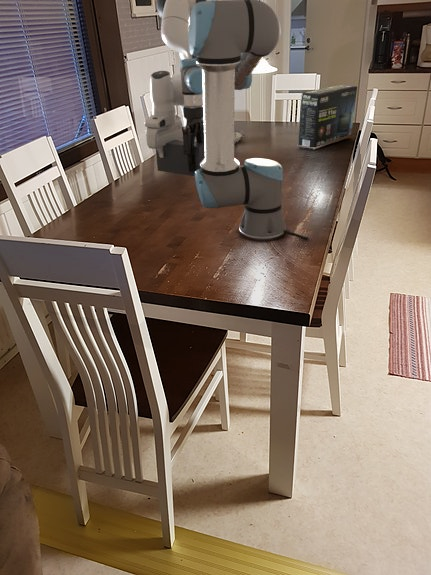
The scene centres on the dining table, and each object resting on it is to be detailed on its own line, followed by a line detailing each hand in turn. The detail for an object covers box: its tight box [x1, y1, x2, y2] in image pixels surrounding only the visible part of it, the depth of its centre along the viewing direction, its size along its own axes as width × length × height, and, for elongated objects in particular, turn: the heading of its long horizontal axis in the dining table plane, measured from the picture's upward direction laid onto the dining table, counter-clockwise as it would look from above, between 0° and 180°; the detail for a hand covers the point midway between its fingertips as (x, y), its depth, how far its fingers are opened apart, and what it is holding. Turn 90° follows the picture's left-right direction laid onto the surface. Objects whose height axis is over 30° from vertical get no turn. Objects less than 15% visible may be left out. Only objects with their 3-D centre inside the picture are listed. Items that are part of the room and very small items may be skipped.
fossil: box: [234, 128, 246, 145], centre depth 254 cm, size 18×11×15 cm
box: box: [155, 139, 205, 177], centre depth 179 cm, size 20×6×11 cm, turn 60°
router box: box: [297, 84, 358, 151], centre depth 238 cm, size 36×11×27 cm, turn 134°
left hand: (167, 154), depth 182 cm, fingers closed on box, 6 cm apart
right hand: (196, 169), depth 178 cm, fingers closed on box, 6 cm apart
